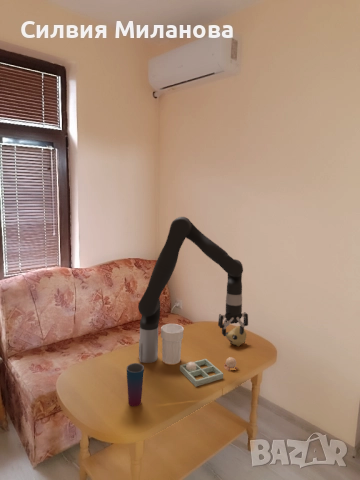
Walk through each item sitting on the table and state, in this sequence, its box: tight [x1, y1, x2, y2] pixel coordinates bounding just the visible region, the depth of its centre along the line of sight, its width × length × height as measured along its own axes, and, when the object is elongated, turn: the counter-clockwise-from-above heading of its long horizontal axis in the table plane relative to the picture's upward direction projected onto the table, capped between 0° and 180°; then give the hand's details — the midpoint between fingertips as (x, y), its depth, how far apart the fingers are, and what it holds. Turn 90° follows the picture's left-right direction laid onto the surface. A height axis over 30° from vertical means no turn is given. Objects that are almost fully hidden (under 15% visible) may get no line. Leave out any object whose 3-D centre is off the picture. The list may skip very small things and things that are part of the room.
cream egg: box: [186, 361, 197, 372], centre depth 151 cm, size 5×5×5 cm
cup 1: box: [126, 362, 145, 407], centre depth 128 cm, size 7×7×15 cm
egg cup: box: [223, 362, 238, 372], centre depth 157 cm, size 6×6×2 cm
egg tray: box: [179, 358, 224, 387], centre depth 150 cm, size 15×15×3 cm
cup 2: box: [160, 323, 185, 366], centre depth 161 cm, size 11×11×17 cm
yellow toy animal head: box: [225, 325, 247, 347], centre depth 181 cm, size 10×12×11 cm
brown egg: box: [225, 356, 237, 368], centre depth 156 cm, size 5×5×5 cm
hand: (232, 334), depth 154 cm, fingers open, 8 cm apart
